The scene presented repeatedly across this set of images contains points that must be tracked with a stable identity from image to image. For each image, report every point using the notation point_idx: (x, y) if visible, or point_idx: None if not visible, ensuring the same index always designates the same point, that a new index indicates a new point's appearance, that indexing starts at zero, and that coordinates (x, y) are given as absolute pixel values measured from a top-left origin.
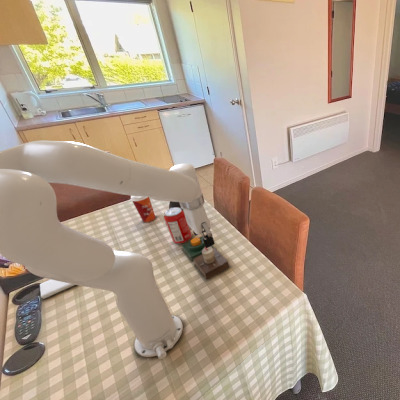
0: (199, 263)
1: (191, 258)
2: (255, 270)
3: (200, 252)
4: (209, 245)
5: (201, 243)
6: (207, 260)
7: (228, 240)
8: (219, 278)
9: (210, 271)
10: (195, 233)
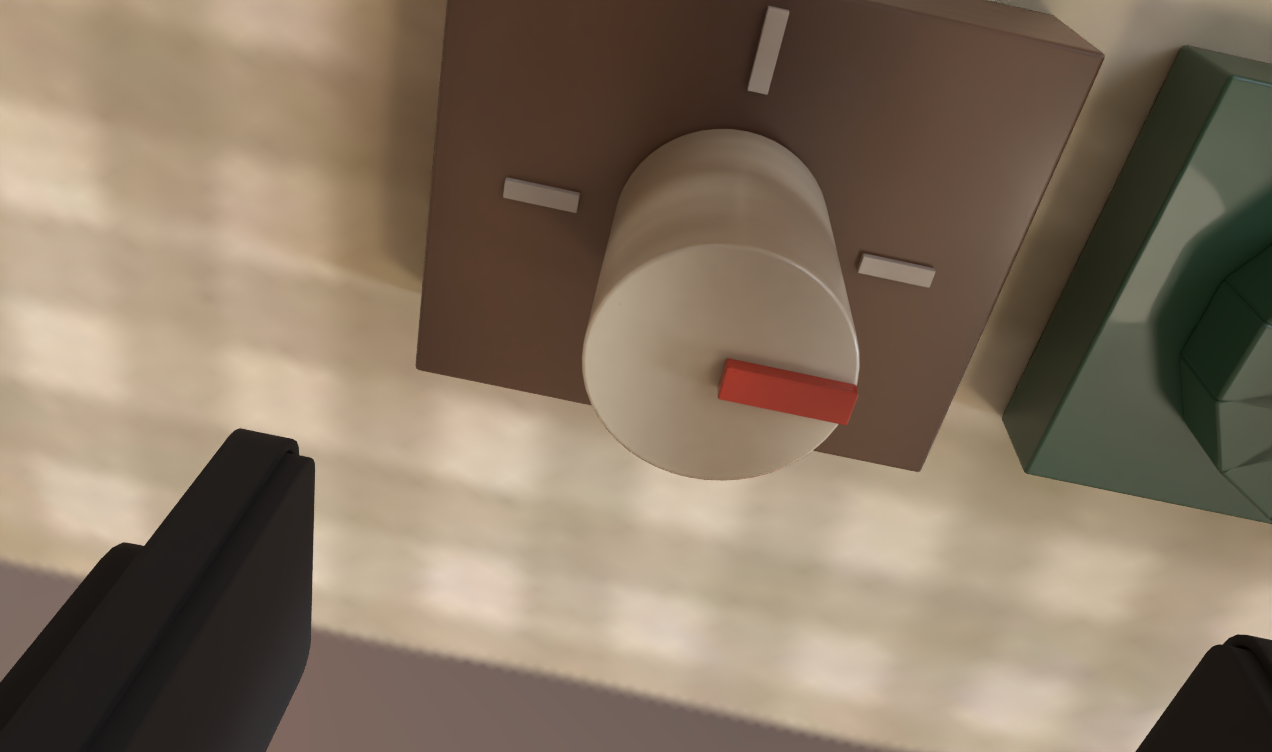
0: (841, 44)
1: (1219, 64)
2: (103, 439)
3: (1133, 269)
4: (121, 563)
5: (1259, 436)
6: (653, 180)
7: (956, 645)
8: (341, 48)
9: (444, 30)
10: (1256, 732)
